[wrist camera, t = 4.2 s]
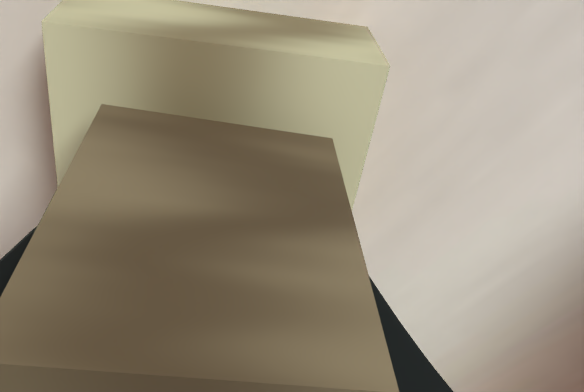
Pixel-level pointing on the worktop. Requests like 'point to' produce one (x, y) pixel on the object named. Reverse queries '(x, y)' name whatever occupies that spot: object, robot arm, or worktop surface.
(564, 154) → the worktop surface
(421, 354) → the robot arm
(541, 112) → the worktop surface
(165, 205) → the walnut block
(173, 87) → the oak block
